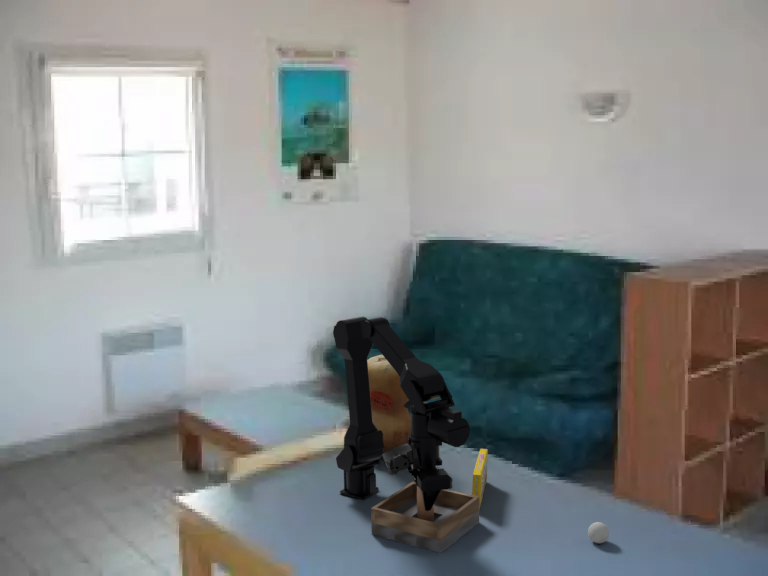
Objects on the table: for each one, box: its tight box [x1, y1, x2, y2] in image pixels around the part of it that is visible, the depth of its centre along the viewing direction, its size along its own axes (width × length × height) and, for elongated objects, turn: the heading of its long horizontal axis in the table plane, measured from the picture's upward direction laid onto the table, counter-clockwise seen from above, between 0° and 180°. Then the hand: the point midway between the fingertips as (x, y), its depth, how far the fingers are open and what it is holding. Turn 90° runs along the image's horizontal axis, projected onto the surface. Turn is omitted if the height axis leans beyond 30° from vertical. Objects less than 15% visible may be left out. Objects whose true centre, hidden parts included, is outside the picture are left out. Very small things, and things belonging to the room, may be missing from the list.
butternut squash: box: [367, 354, 411, 453], centre depth 225 cm, size 14×13×25 cm
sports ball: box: [587, 521, 610, 544], centre depth 178 cm, size 4×4×4 cm
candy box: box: [471, 448, 489, 511], centre depth 200 cm, size 16×2×8 cm, turn 168°
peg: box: [417, 486, 434, 522], centre depth 184 cm, size 3×3×8 cm
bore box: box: [370, 481, 480, 554], centre depth 185 cm, size 16×16×6 cm
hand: (425, 506), depth 185 cm, fingers closed on peg, 3 cm apart
